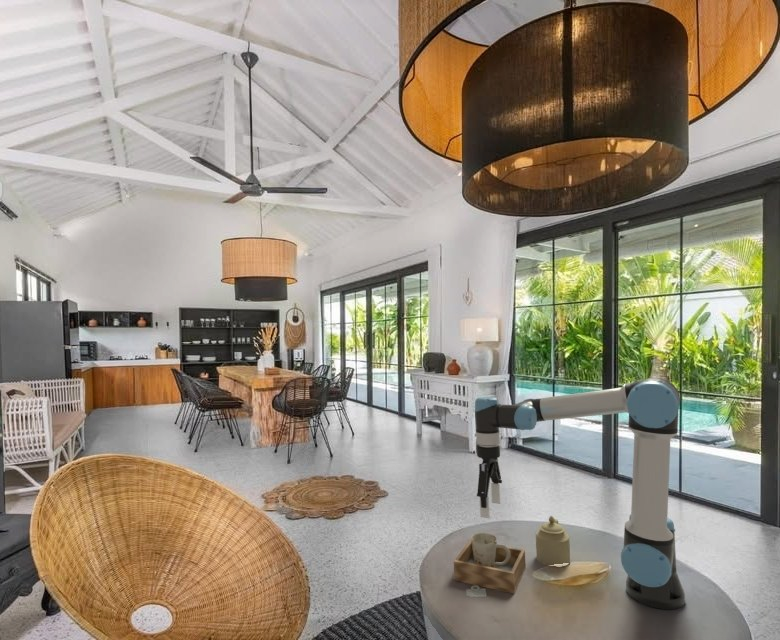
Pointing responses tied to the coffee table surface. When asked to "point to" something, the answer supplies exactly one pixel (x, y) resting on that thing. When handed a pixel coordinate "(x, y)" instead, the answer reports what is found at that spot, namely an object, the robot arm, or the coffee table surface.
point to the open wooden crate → (491, 569)
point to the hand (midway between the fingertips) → (490, 510)
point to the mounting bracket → (476, 592)
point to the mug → (487, 550)
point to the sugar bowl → (552, 543)
